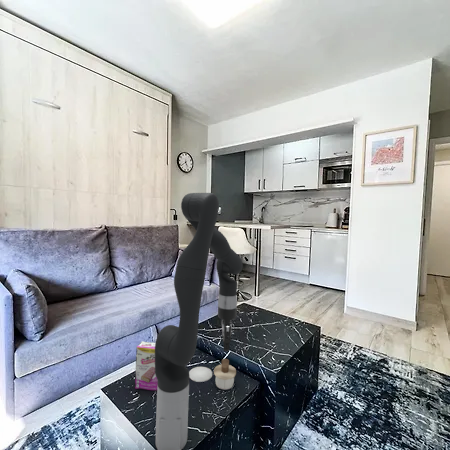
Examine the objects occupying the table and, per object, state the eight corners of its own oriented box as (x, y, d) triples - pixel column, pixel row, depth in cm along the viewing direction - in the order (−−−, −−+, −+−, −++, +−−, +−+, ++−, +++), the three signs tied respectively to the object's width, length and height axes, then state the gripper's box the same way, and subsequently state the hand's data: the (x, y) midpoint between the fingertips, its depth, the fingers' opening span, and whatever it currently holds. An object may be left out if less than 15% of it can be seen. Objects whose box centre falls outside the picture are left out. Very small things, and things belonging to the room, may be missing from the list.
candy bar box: (134, 389, 95) (135, 346, 94) (139, 381, 100) (141, 340, 99) (162, 392, 93) (163, 349, 93) (166, 384, 98) (168, 343, 98)
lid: (237, 379, 96) (238, 367, 95) (214, 379, 95) (214, 367, 95) (234, 365, 104) (234, 354, 104) (213, 366, 104) (213, 354, 104)
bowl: (236, 387, 98) (236, 375, 98) (219, 391, 95) (220, 378, 95) (229, 377, 104) (229, 365, 104) (213, 380, 102) (214, 368, 102)
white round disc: (212, 382, 101) (212, 381, 101) (187, 381, 100) (187, 380, 100) (212, 367, 111) (212, 366, 111) (189, 367, 110) (189, 366, 110)
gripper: (238, 311, 93) (236, 354, 93) (235, 300, 107) (233, 337, 107) (218, 311, 93) (216, 354, 92) (217, 299, 107) (216, 337, 107)
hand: (225, 345), depth 100 cm, fingers open, 8 cm apart
